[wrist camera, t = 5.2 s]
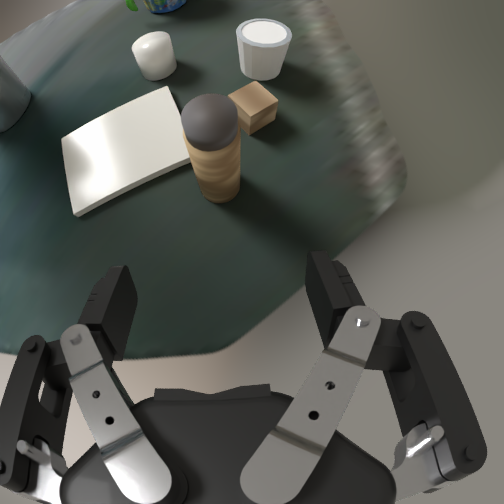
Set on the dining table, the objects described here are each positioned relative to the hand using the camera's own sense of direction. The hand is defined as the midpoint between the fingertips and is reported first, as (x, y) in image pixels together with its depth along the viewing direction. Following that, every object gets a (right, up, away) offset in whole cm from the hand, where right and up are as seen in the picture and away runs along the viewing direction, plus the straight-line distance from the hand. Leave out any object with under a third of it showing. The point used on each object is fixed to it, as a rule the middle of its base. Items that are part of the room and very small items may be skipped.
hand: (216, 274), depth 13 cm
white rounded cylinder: (-12, +27, +22) cm, 37 cm away
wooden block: (+2, +17, +21) cm, 27 cm away
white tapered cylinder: (+3, +27, +22) cm, 35 cm away
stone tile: (-14, +14, +19) cm, 28 cm away
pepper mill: (-2, +8, +19) cm, 21 cm away
